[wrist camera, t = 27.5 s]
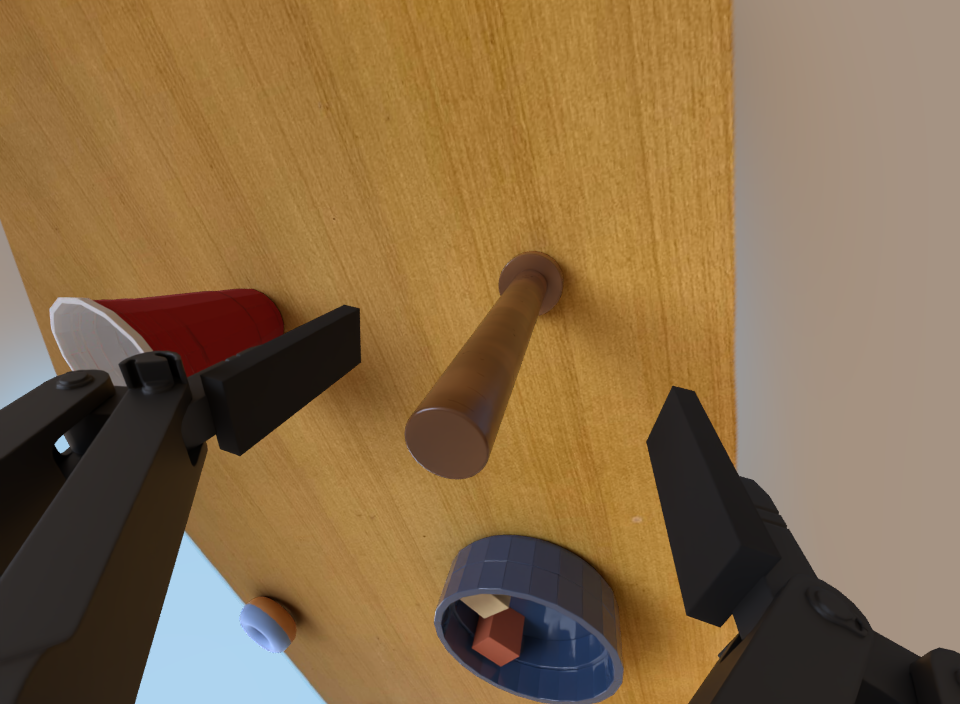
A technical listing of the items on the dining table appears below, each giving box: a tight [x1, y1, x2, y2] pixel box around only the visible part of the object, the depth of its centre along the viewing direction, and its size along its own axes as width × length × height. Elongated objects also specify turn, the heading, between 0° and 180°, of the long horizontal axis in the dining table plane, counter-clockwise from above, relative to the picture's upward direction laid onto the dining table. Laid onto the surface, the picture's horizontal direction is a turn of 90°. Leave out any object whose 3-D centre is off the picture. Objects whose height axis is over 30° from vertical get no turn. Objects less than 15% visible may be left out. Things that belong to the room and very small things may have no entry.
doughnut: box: [239, 596, 296, 653], centre depth 58 cm, size 10×10×5 cm
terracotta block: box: [472, 607, 525, 667], centre depth 40 cm, size 4×4×4 cm
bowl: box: [434, 535, 624, 704], centre depth 37 cm, size 19×19×6 cm
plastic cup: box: [50, 289, 284, 386], centre depth 28 cm, size 11×11×12 cm
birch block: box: [460, 594, 511, 618], centre depth 37 cm, size 4×4×4 cm
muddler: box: [405, 251, 563, 479], centre depth 17 cm, size 4×4×18 cm
